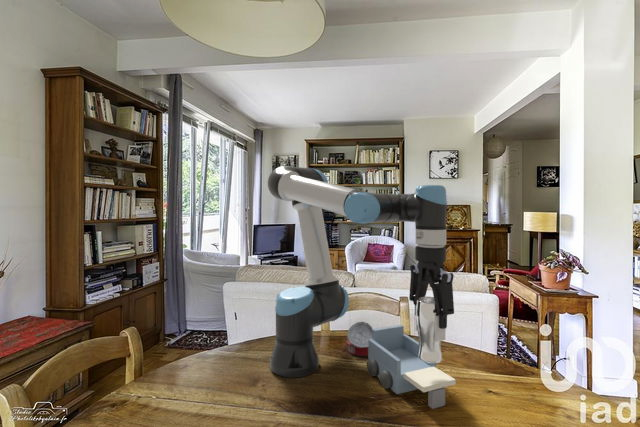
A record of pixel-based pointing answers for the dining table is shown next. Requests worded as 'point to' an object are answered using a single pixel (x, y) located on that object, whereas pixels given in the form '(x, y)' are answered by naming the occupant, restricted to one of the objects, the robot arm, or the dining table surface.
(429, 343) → the beer glass
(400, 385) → the trailer
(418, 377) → the tailgate
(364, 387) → the dining table surface
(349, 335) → the canned food
